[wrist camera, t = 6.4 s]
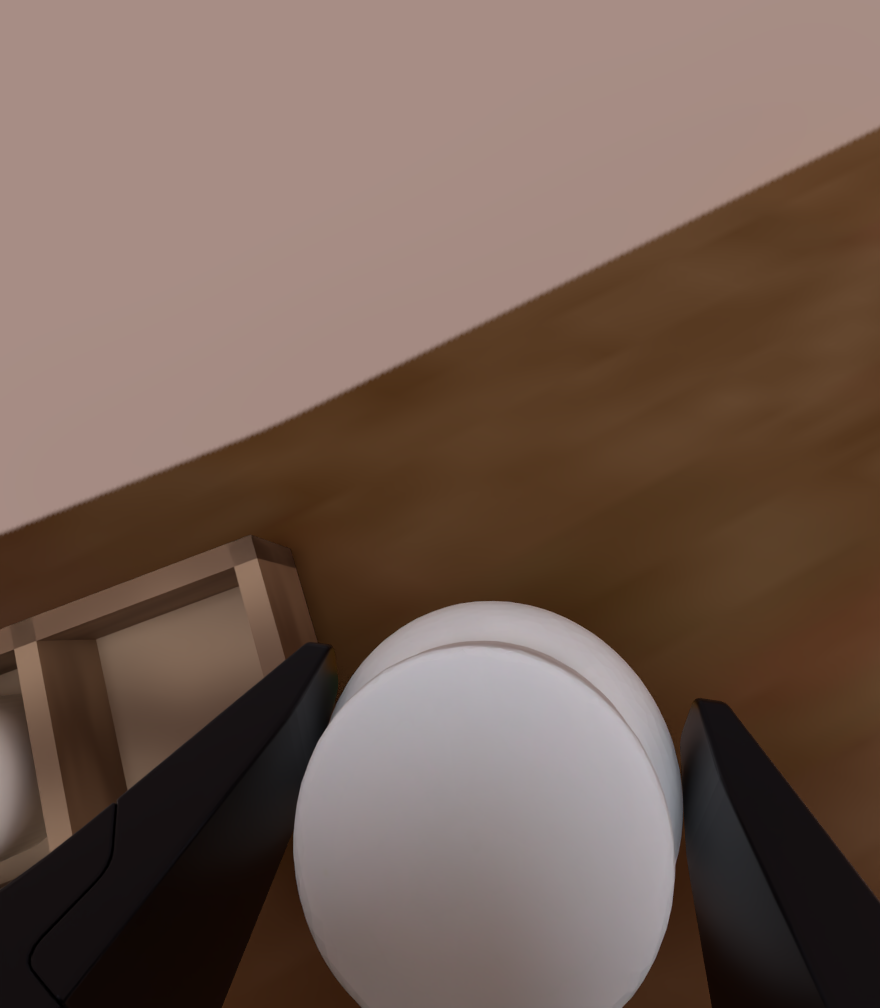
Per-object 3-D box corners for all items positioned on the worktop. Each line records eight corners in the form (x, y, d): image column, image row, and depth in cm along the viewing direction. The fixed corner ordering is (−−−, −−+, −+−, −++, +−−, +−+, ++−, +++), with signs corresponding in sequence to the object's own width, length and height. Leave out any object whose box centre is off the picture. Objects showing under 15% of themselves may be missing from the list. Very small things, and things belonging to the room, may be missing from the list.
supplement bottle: (648, 811, 15) (849, 1109, 5) (433, 861, 15) (279, 1217, 6) (580, 591, 16) (649, 528, 7) (384, 643, 16) (194, 652, 7)
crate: (358, 781, 21) (327, 810, 18) (-67, 930, 22) (-174, 985, 19) (290, 548, 23) (250, 534, 20) (-98, 693, 24) (-200, 704, 21)
